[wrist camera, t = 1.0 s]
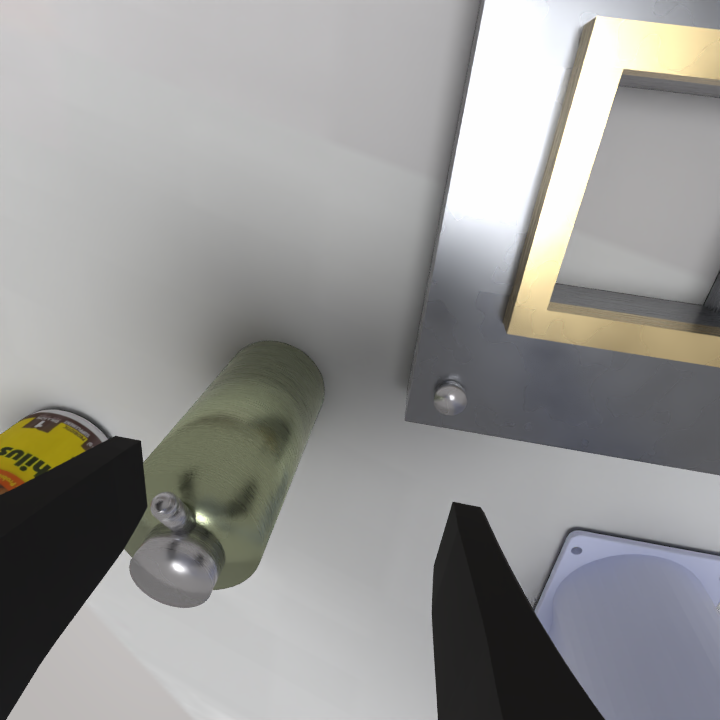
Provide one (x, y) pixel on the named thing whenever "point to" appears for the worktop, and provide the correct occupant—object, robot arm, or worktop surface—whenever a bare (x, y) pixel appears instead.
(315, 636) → the worktop surface
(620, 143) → the worktop surface
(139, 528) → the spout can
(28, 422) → the supplement bottle
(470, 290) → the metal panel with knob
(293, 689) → the worktop surface
